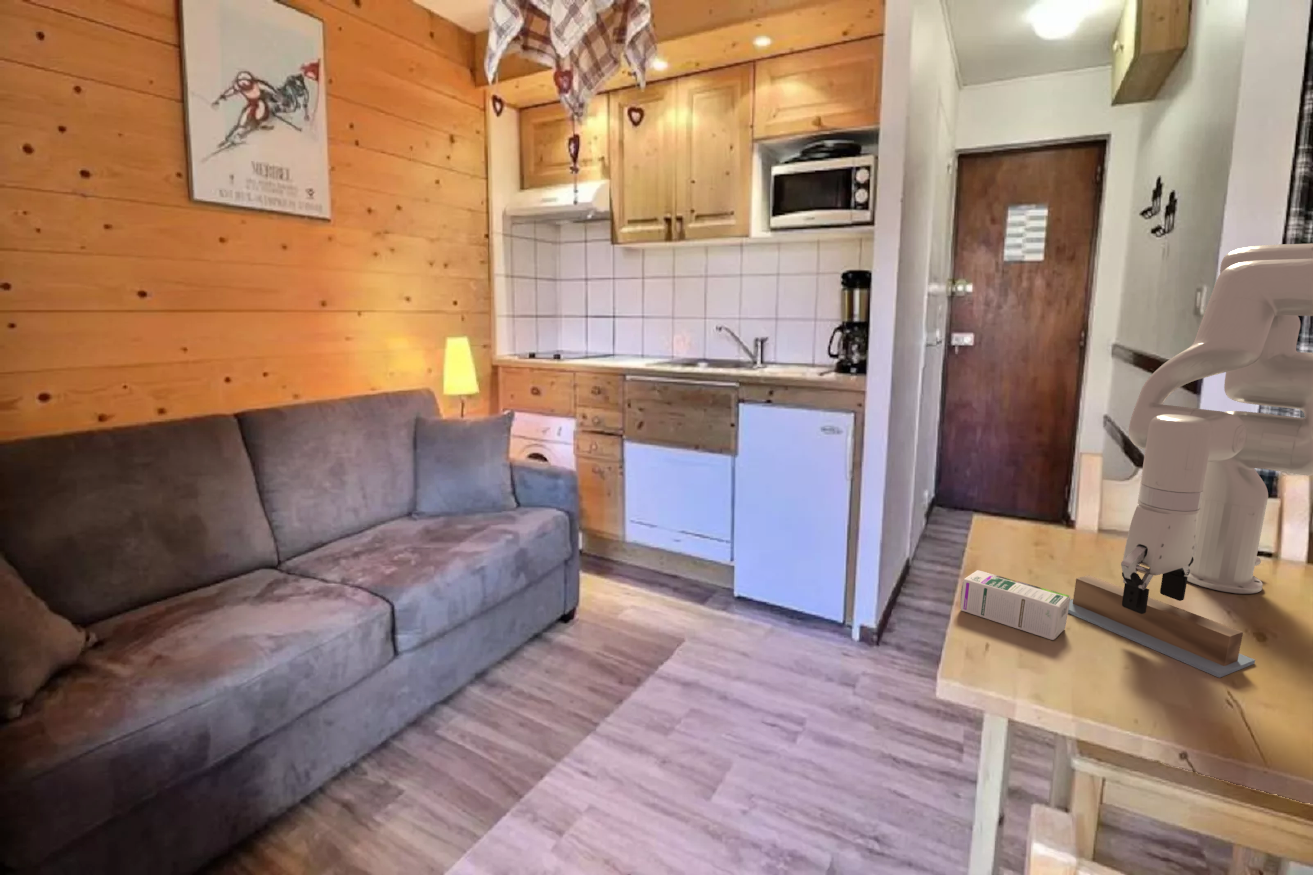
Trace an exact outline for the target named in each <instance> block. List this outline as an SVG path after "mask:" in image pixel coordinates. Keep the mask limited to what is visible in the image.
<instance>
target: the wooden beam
mask: <svg viewBox="0 0 1313 875" xmlns="http://www.w3.org/2000/svg"><path fill="white" fill-rule="evenodd" d="M1123 593H1124V587H1122V586H1120V585H1117V584H1114V583H1111V582H1109V581H1107V580H1103V579H1100V578H1098V577H1096V576H1092V575H1090V574H1088V575H1085V576H1081V577H1078V578H1076V579H1075V585H1074V592H1073V598H1072V599H1073V604H1075V605H1077V606H1080V607H1082V608H1085V609H1087V610H1089V611H1092V612H1094V613H1097V614H1099V615H1101V616H1104V617H1106V618H1109V619H1111V620H1114V621H1116V622H1118V623H1121V624H1123V625H1126V626H1128V627H1131V628H1133V629H1135V630H1138V631H1140V632H1143V633H1145V634H1147V635H1150V636H1152V637H1155V638H1157V639H1160V640H1162V641H1164V642H1167V643H1169V644H1172V645H1174V646H1176V647H1179V648H1181V649H1184V650H1186V651H1189V652H1191V653H1193V654H1196V655H1198V656H1201V657H1203V658H1205V659H1208V660H1210V661H1213V662H1215V663H1218V664H1220V665H1222V666H1226V665H1229V664H1231V663H1234V662H1236V661H1238V656H1239V654H1240V650H1241V645H1242V640H1243V635H1244V631H1242V630H1239V629H1237V628H1234V627H1231V626H1228V625H1226V624H1223V623H1220V622H1218V621H1214V620H1212V619H1209V618H1206V617H1203V616H1201V615H1199V614H1195V613H1193V612H1190V611H1188V610H1185V609H1182V608H1180V607H1177V606H1174V605H1173V604H1172V605H1171V604H1169V603H1166V602H1163V601H1161V600H1158V599H1155V598H1153V597H1150V596H1148V601H1147V608H1146V613H1144V614H1140V613H1137V612H1135V611H1132V610H1130V609H1127V608H1125V607H1123V606H1122V600H1123Z"/></svg>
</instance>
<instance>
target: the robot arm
mask: <svg viewBox="0 0 1313 875" xmlns="http://www.w3.org/2000/svg"><path fill="white" fill-rule="evenodd" d="M1219 268H1220V269H1219V273H1220V274H1219V275H1218V277H1217V279H1216V282H1215V284H1214V287H1213V289H1212V291H1211V292H1212V293H1211V295H1210V296H1209V297H1210V298H1209V300H1208V303H1207V305H1206V307H1205V308H1206V309H1205V311H1204V313H1203V317H1202V319H1201V321H1200V324H1199V326H1198V331H1197V333H1196V336H1195V339H1194V341H1193V342H1192V344H1191V345H1190V346H1189V347H1188V348H1186V349H1184V350H1182V351H1181V352H1180V353H1177V354H1176V355H1174V356H1173V357H1171V358H1169V359H1168V360H1167V361H1166V362H1164V363H1162V364H1161V366H1159V367H1158V368H1157V369H1156V370H1155V371H1154V372H1153V373H1152V374H1151V375H1150V376H1149V377H1148V378H1147V380H1145V382H1144V384H1143V386H1142V387H1141V390H1140V391H1139V392H1140V393H1139V395H1138V398H1137V401H1136V403H1135V405H1134V407H1133V410H1132V411H1133V412H1132V414H1131V417H1130V420H1129V424H1128V425H1129V426H1128V434H1129V435H1128V436H1129V440H1130V441H1131V442H1132V444H1133V445H1134V446H1135V447H1137V448H1139V449H1142V450H1144V456H1143V461H1142V462H1143V464H1142V469H1141V470H1142V471H1141V477H1140V485H1139V491H1138V498H1137V504H1138V505H1137V506H1136V507H1135V510H1134V512H1133V515H1132V518H1131V521H1130V525H1129V529H1128V534H1127V538H1126V542H1125V547H1124V552H1123V558H1122V560H1121V562H1120V566H1121V570H1122V572H1121V577H1122V579H1123V580H1122V581H1123V582H1122V583H1124V587H1123V588H1124V593H1123V600H1122V606H1123V607H1125V608H1127V609H1130V610H1132V611H1135V612H1137V613H1140V614H1144V613H1146V608H1147V601H1148V597H1149V593H1150V589H1149V588H1147V587H1148V585H1149V584H1150V582H1151V581H1152V578H1153V577H1154V576H1159V575H1161V583H1160V589H1159V592H1160V594H1161V595H1162V596H1165V597H1168V598H1171V599H1173V600H1176V601H1179V602H1181V601H1184V600H1185V595H1186V589H1187V583H1188V582H1189V583H1190V584H1194V585H1196V586H1200V587H1203V588H1206V589H1210V590H1213V591H1219V592H1224V593H1230V594H1231V593H1232V594H1241V595H1242V594H1245V595H1249V594H1257V593H1259V592H1261V591H1262V590H1263V587H1264V586H1263V585H1264V584H1263V582H1262V581H1261V580H1260V578H1258V577H1256V576H1254V572H1255V567H1257V566H1259V565H1260V564H1261V561H1262V560H1261V559H1260V557H1259V556H1257V555H1258V551H1259V547H1260V540H1261V535H1262V530H1263V524H1264V520H1265V515H1266V509H1267V505H1268V500H1269V499H1268V498H1269V492H1268V488H1267V485H1266V484H1265V482H1264V481H1263V479H1262V478H1261V476H1260V475H1259V473H1258V472H1257V469H1259V470H1263V469H1264V470H1269V471H1275V472H1281V473H1289V474H1294V475H1301V476H1313V352H1308V351H1306V352H1303V351H1302V352H1301V351H1297V344H1298V340H1299V339H1298V338H1299V333H1300V330H1301V320H1300V317H1306V316H1307V317H1313V243H1312V242H1311V243H1290V244H1289V243H1288V244H1287V243H1286V244H1278V243H1277V244H1266V245H1265V244H1264V245H1262V244H1261V245H1252V246H1245V247H1240V248H1236V249H1233V250H1232V251H1230V252H1228V253H1227V254H1225V255H1224V257H1223V258H1222V259H1221V262H1220V267H1219ZM1299 316H1300V317H1299ZM1224 373H1225V376H1224V385H1223V388H1224V389H1223V390H1224V393H1225V395H1226V396H1227V398H1229V399H1230V400H1231V401H1234V402H1237V403H1242V404H1243V403H1244V404H1247V405H1255V406H1257V405H1258V406H1265V407H1275V408H1277V407H1278V408H1283V409H1284V408H1286V409H1287V408H1288V409H1293V410H1295V409H1297V410H1300V411H1302V413H1303V414H1304V417H1298V416H1287V415H1278V414H1275V413H1274V414H1273V413H1263V412H1253V411H1244V410H1227V411H1220V410H1212V409H1206V408H1205V409H1204V408H1203V409H1202V408H1196V407H1188V406H1180V405H1172V404H1171V405H1170V404H1165V402H1166V400H1167V399H1168V397H1169V396H1171V395H1172V393H1174V392H1175V391H1176V390H1177V389H1179V388H1181V387H1183V386H1185V385H1186V384H1187V385H1188V384H1189V383H1191V382H1194V381H1197V380H1201V379H1205V378H1208V377H1212V376H1213V377H1214V376H1216V375H1219V374H1221V375H1222V374H1224ZM1139 573H1142V574H1144V575H1143V576H1142V578H1141V577H1140V575H1139Z"/></svg>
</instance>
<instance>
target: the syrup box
mask: <svg viewBox="0 0 1313 875" xmlns="http://www.w3.org/2000/svg"><path fill="white" fill-rule="evenodd" d="M961 584H962V585H961V588H960V598H959V599H960V600H959V601H960V604H959V605H960V606H959V608H960V611H961V612H965V613H967V614H971V615H974V616H977V617H981V618H983V619H986V620H990V621H991V622H996V623H999V624H1002V625H1004V626H1007V627H1011V628H1015V629H1016V630H1021V631H1023V632H1027V633H1029V634H1032V635H1035V636H1038V637H1042V638H1045V639H1048V640H1051V641H1054V640H1056V639H1057V638H1058V636H1060V634H1062V632H1063V631H1064V630H1065V629H1066V625H1067V621H1068V620H1067V619H1068V615H1069V613H1068V610H1069V604H1070V600H1071V596H1070V595H1069V594H1065V593H1061V592H1058V591H1054V590H1050V589H1047V588H1045V587H1044V588H1043V587H1041V586H1040V587H1039V586H1037V585H1033V584H1028V583H1026V582H1022V581H1018V580H1015V579H1011V578H1008V577H1004V576H1000V575H998V574H993V573H991V572H990V573H989V572H988V571H987V572H986V571H983V570H979V569H977V570H975V571H974V572H972V573H971V574H969V575H968V576H967V577H965V578H963V580H962V583H961Z"/></svg>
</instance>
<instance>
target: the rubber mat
mask: <svg viewBox="0 0 1313 875" xmlns="http://www.w3.org/2000/svg"><path fill="white" fill-rule="evenodd" d="M1069 614H1070V615H1072V616H1074V617H1076V618H1078V619H1081V620H1082V621H1083V620H1084V621H1086V622H1089V623H1091V624H1093V625H1095V626H1097V627H1100V628H1102V629H1105V630H1106V631H1110V632H1111V633H1114V634H1117V635H1119V636H1121V637H1123V638H1125V639H1128V640H1130V641H1133V642H1135V643H1137V644H1139V645H1141V646H1143V647H1146V648H1149V649H1152V650H1153V651H1155V652H1158V653H1161V654H1163V655H1165V656H1166V657H1167V656H1168V657H1171V658H1172V659H1174V660H1177V661H1179V662H1182V663H1183V664H1186V665H1188V666H1191V667H1193V668H1194V669H1198V670H1200V671H1203V672H1205V673H1206V674H1209V675H1212V676H1214V677H1217V678H1218V679H1219V678H1222V677H1226V676H1227V675H1230V674H1232V673H1235V672H1237V671H1240V670H1242V669H1245V668H1247V667H1251V666H1253V665H1255V663H1256V659H1254V658H1252V657H1249V656H1247V655H1244V654H1242V653H1239V656H1238V661H1236V662H1234V663H1231V664H1229V665H1226V666H1222V665H1220V664H1218V663H1215V662H1213V661H1210V660H1208V659H1205V658H1203V657H1201V656H1198V655H1196V654H1193V653H1191V652H1189V651H1186V650H1184V649H1181V648H1179V647H1176V646H1174V645H1172V644H1169V643H1167V642H1164V641H1162V640H1160V639H1157V638H1155V637H1152V636H1150V635H1147V634H1145V633H1143V632H1140V631H1138V630H1135V629H1133V628H1131V627H1128V626H1126V625H1123V624H1121V623H1118V622H1116V621H1114V620H1111V619H1109V618H1106V617H1104V616H1101V615H1099V614H1097V613H1094V612H1092V611H1089V610H1087V609H1085V608H1082V607H1080V606H1077V605H1075V604H1073V598H1071V599H1070V604H1069V610H1068V615H1069Z"/></svg>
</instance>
